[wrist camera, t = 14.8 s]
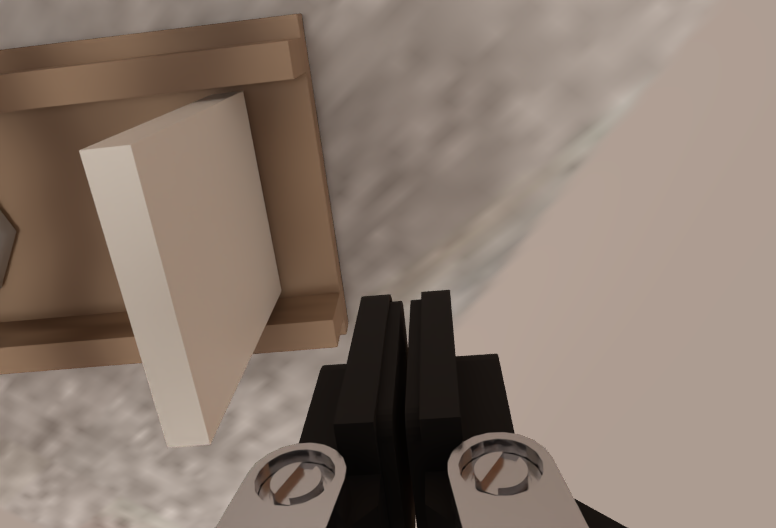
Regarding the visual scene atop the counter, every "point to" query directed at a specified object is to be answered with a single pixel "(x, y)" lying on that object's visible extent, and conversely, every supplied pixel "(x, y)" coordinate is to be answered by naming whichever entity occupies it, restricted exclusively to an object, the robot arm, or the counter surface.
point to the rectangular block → (188, 254)
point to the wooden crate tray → (120, 113)
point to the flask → (5, 244)
